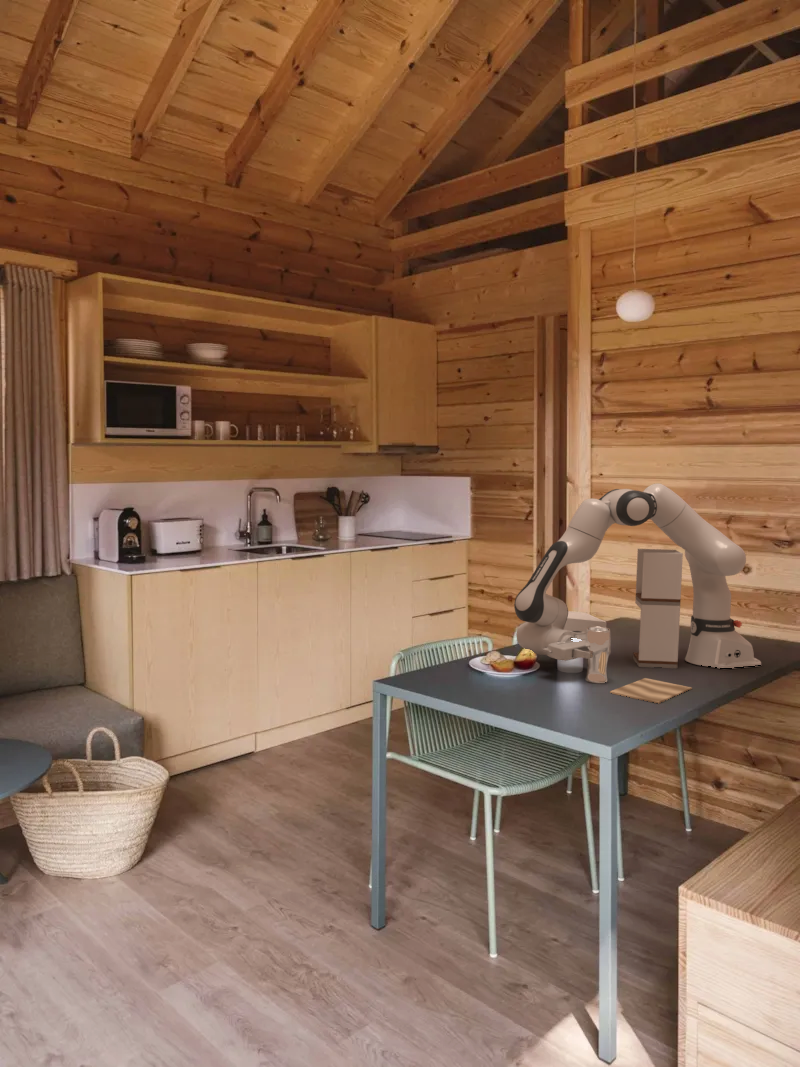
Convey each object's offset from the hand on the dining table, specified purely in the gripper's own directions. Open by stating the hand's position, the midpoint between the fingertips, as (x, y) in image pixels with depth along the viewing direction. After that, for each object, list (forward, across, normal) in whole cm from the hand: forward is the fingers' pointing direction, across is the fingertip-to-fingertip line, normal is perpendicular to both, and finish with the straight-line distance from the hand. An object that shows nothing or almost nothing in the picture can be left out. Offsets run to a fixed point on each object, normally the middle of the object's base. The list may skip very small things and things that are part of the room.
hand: (600, 653), depth 246 cm
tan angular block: (-36, +31, +8) cm, 48 cm away
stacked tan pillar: (-3, +32, +8) cm, 33 cm away
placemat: (+15, +4, +8) cm, 17 cm away
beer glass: (-1, 0, +8) cm, 8 cm away
